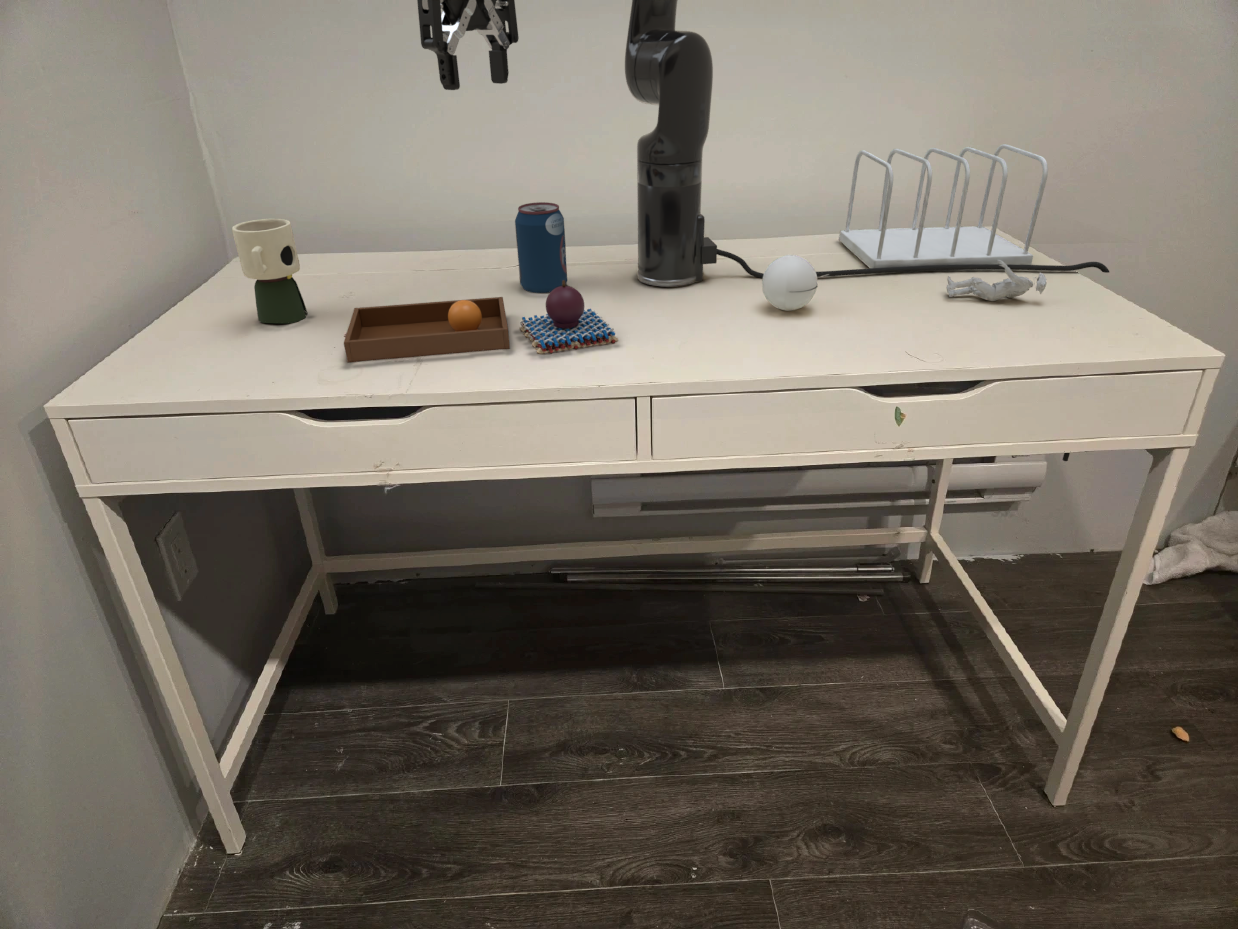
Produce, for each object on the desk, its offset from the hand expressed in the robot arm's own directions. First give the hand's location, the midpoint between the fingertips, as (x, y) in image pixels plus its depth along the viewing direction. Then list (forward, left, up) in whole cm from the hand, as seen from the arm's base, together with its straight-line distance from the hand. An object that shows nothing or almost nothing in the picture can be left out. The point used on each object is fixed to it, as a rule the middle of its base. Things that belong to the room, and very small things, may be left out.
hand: (476, 86), depth 100 cm
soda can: (-7, -5, -28) cm, 30 cm away
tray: (+9, +12, -28) cm, 32 cm away
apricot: (+4, +12, -28) cm, 30 cm away
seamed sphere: (-40, +11, -28) cm, 50 cm away
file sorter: (-70, -8, -28) cm, 76 cm away
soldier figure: (-67, +14, -28) cm, 74 cm away
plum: (-8, +15, -26) cm, 31 cm away
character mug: (+29, 0, -28) cm, 41 cm away
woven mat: (-8, +15, -28) cm, 33 cm away
